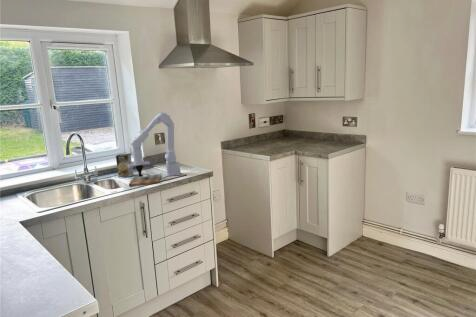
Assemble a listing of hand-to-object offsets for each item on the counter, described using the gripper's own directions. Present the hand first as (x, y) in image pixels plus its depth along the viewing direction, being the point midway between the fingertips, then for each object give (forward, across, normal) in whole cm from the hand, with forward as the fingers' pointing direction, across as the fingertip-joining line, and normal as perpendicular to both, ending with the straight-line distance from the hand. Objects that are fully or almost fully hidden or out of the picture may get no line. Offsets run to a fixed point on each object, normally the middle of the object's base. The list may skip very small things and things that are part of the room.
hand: (140, 176), depth 243 cm
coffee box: (+3, +4, -21) cm, 22 cm away
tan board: (+3, -3, +5) cm, 6 cm away
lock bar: (+1, -2, +2) cm, 3 cm away
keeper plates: (+2, -4, +2) cm, 5 cm away
